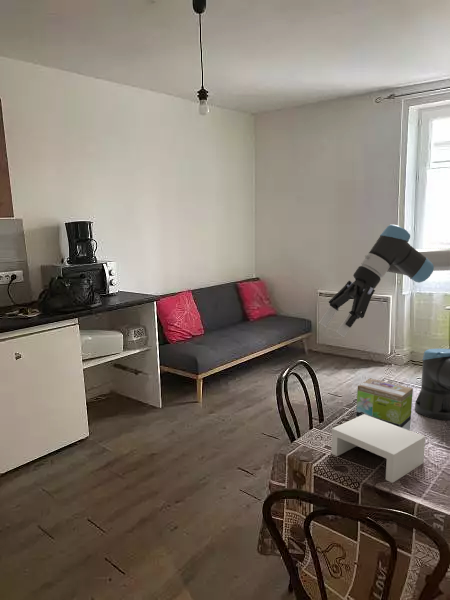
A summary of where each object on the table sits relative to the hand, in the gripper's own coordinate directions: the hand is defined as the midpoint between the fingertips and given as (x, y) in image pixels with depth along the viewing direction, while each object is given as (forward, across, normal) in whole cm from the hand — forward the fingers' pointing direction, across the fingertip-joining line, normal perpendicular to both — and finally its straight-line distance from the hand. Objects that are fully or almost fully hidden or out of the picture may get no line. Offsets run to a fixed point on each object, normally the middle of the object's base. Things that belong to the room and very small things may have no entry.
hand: (330, 329), depth 136 cm
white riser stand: (+23, +13, +29) cm, 39 cm away
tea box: (+17, -5, +38) cm, 42 cm away
